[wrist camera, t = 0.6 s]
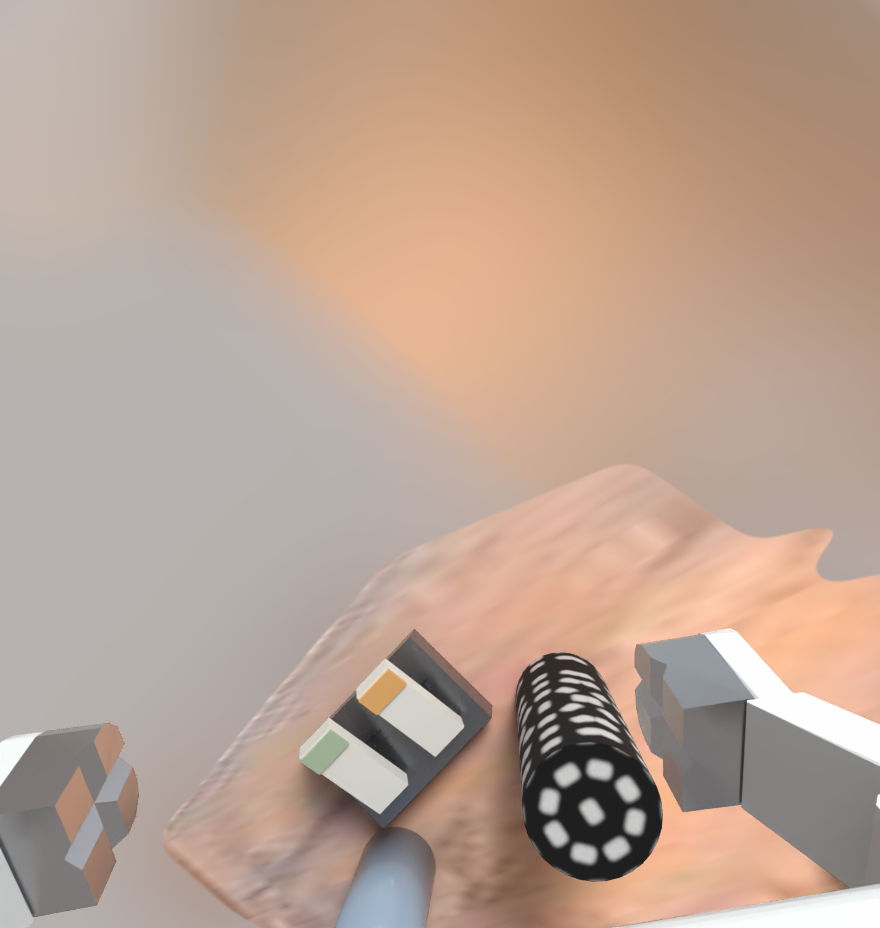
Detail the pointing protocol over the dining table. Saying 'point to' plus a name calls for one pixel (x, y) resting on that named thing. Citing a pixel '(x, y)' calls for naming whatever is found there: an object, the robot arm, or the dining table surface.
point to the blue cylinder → (391, 883)
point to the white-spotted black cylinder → (582, 773)
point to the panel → (398, 747)
